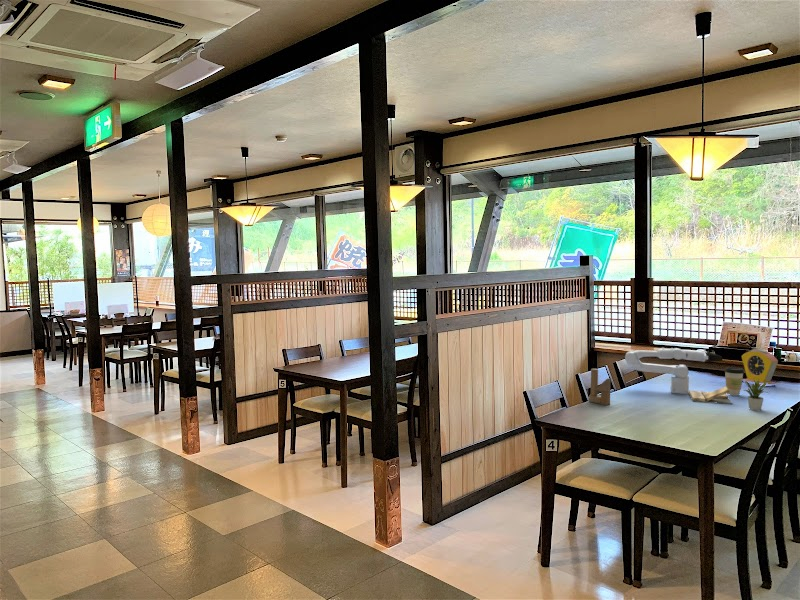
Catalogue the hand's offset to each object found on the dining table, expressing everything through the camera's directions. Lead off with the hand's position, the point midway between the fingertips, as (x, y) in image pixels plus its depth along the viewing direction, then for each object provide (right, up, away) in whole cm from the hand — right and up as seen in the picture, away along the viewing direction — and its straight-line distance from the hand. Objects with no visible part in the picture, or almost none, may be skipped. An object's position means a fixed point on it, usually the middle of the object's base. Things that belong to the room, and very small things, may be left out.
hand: (721, 358), depth 337 cm
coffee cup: (+8, -21, +3) cm, 23 cm away
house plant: (+1, -24, -32) cm, 39 cm away
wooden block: (-74, -23, -16) cm, 79 cm away
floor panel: (-10, -22, -6) cm, 25 cm away
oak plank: (-9, -19, -12) cm, 24 cm away
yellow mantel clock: (+40, -19, +32) cm, 55 cm away
